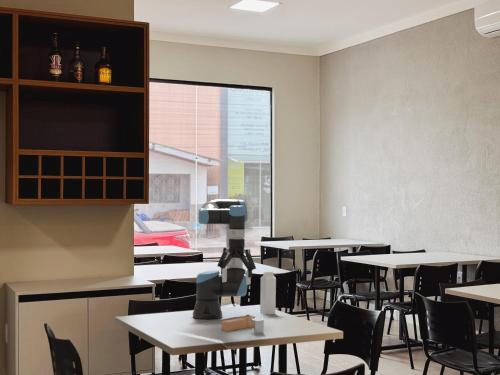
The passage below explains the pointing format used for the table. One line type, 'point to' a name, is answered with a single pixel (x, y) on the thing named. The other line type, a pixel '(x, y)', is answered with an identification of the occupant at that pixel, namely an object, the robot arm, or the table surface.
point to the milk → (268, 293)
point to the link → (237, 323)
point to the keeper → (258, 325)
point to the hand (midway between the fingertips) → (236, 283)
